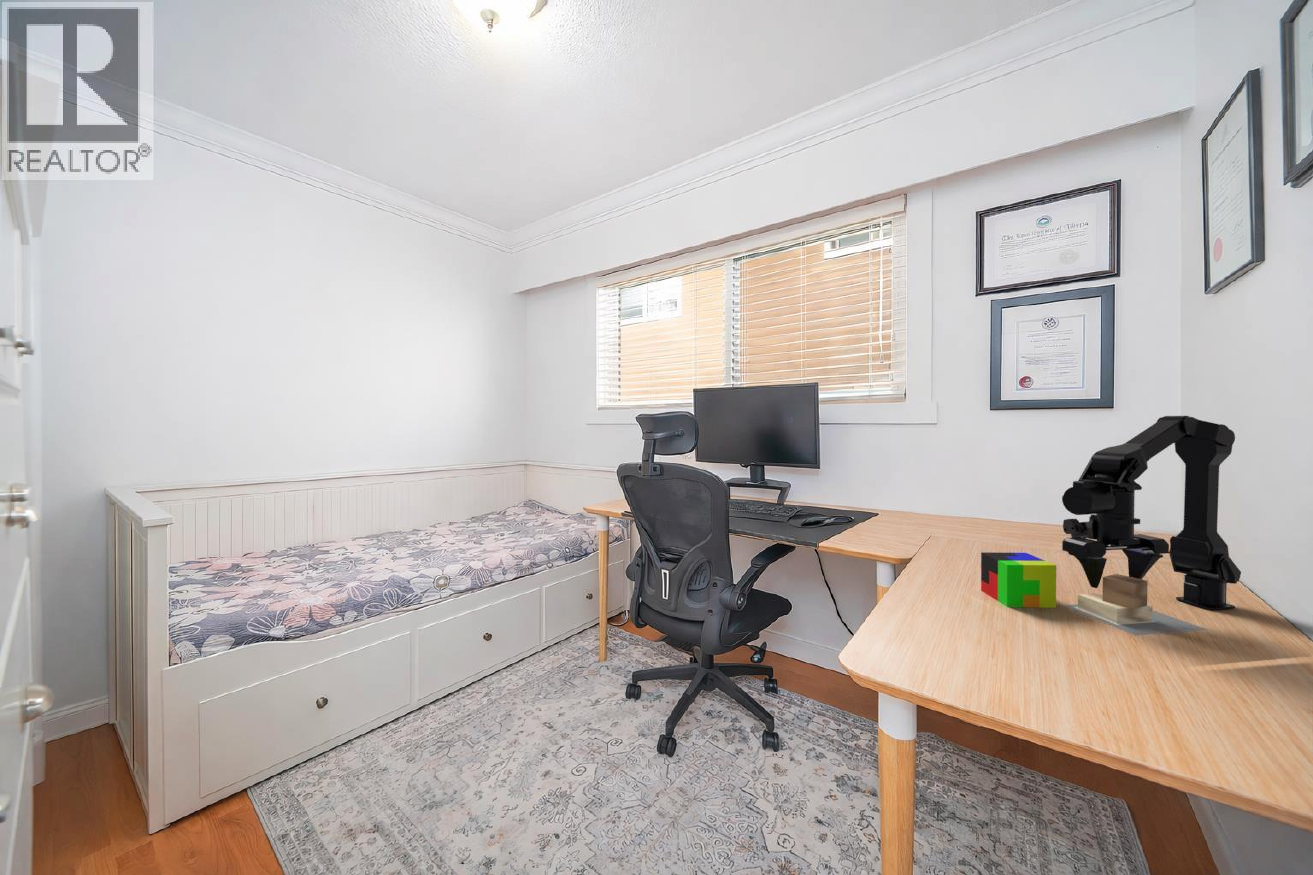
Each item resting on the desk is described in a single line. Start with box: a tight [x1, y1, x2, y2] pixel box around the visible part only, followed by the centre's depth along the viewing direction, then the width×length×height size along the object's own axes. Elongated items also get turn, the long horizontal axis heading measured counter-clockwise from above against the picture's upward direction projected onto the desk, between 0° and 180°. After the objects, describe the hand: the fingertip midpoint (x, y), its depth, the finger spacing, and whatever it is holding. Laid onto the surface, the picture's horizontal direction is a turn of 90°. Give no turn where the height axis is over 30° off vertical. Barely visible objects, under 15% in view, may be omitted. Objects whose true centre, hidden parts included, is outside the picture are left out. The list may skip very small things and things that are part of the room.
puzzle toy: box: [980, 551, 1057, 608], centre depth 111 cm, size 10×10×10 cm
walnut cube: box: [1102, 573, 1149, 609], centre depth 99 cm, size 5×5×5 cm
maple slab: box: [1077, 592, 1153, 623], centre depth 101 cm, size 8×8×3 cm
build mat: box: [1060, 603, 1209, 636], centre depth 100 cm, size 16×15×1 cm
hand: (1113, 586), depth 101 cm, fingers open, 9 cm apart
